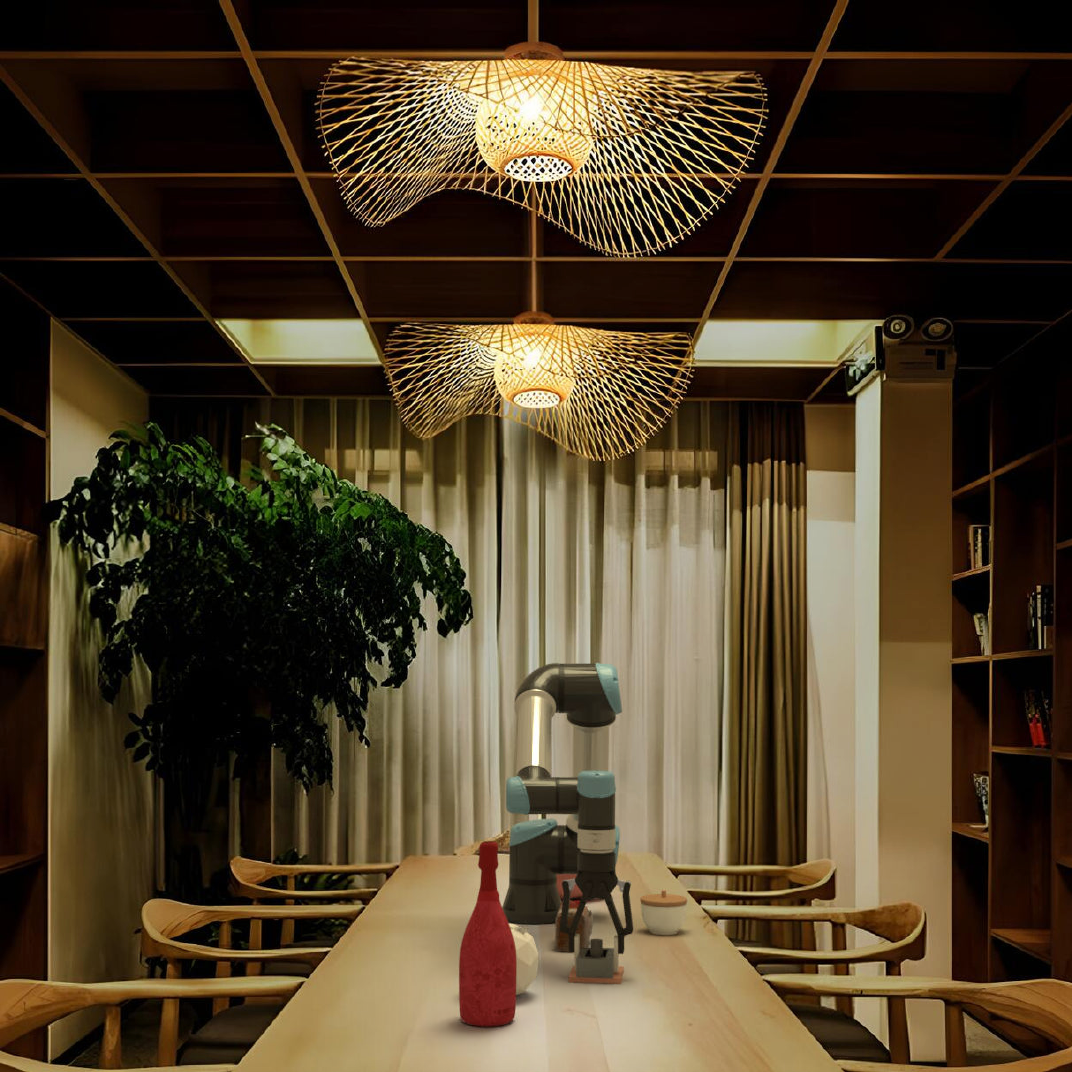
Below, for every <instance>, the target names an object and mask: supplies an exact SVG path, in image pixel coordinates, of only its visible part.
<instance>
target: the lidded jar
mask: <svg viewBox="0 0 1072 1072" xmlns="http://www.w3.org/2000/svg"><path fill="white" fill-rule="evenodd" d="M687 905H688V898H687V897H685V896H683V895H680V894H679V895H678V894H670V893H667V890H665V889H664V890H662V889H661V893H654V894H652V893H651V894H646V895H642V896H641V897H640V910H641V911H640V912H641V917H642V921H643V923H644V925H645V926H646V928H647V929H648V930H649V931H650V933H651V934H653V935H657V936H658V935H659V936H673V935H676V934H678V932H679V931H680V929H682V928H683V926H684V924H685V922H686V919H687V913H688V912H687V911H688V910H687V908H688V907H687Z"/></svg>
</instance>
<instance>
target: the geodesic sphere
mask: <svg viewBox="0 0 1072 1072" xmlns="http://www.w3.org/2000/svg"><path fill="white" fill-rule="evenodd" d="M509 926H510V928H511V931H512V935H513V938H514V942H515V947H516V962H517V974H516V996H517V995H520V994H523V993H525V992H526V991H527V989H528V988H529V986H530V985H531V984H532V982H533V981H534V980H535V979H536V977H537V975H538V966H539V952H538V949H537V946H536V942H535V939H534V936H532V935H531V934H530V933H528V932H527V930H528V929H529V928H528V927H527V926H524V925H523V926H521V925H519V926H518V925H517V924H515V923H514V924H513V923H509Z"/></svg>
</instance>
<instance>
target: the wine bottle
mask: <svg viewBox="0 0 1072 1072" xmlns="http://www.w3.org/2000/svg"><path fill="white" fill-rule="evenodd" d="M478 850H479V853H478V854H479V855H478V863H477V867H478V868H479V869H480V882H479V883H480V884H479V889H478V895H477V897H476V903H475V905H474V909H473V910H472V913H471V915H470V918H469V920H468V922H467V924H466V927H465V929H464V930H465V931H464V932H463V936H462V938H461V943H460V949H459V959H458V960H459V962H458V978H459V979H458V995H459V996H458V998H459V999H458V1000H459V1017H460V1019H461V1021H462V1022H464V1023H465V1024H467V1025H471V1026H474V1027H483V1028H486V1027H487V1028H488V1027H489V1028H490V1027H499V1026H504V1025H507V1024H509V1023H511V1022H512V1021H513V1020H514V1018H515V1017H516V1008H517V1007H516V1006H517V1005H516V1003H517V995H516V974H517V962H516V947H515V942H514V938H513V935H512V931H511V928H510V926H509V924H510V922H509V921H507V918H506V916H505V914H504V911H503V909H502V907H503V905H502V904H501V901H500V892H499V891H498V883H497V882H498V881H497V870H498V867H499V858H498V857H499V856H498V854H499V852H498V851H499V845H498V843H497V841H492V840H485V841H482V842H481V843H480V845H479V847H478Z"/></svg>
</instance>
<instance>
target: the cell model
mask: <svg viewBox="0 0 1072 1072" xmlns="http://www.w3.org/2000/svg"><path fill="white" fill-rule="evenodd" d="M576 876H577V874H564V873H563V874H557V888H558V892H559V895H560V898H561V901H563V896H564V892H563V887H562V882H563V881H564V880H565V879H567V880H570V879H575V877H576ZM582 895H583V893H582V892H581V890H580V889H579V888H578V886H577V885H576V884H575V885H574V888H573V890H572V891H571V897H570V899H571V900H576V899H577V900H578V899H581V897H582Z"/></svg>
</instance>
